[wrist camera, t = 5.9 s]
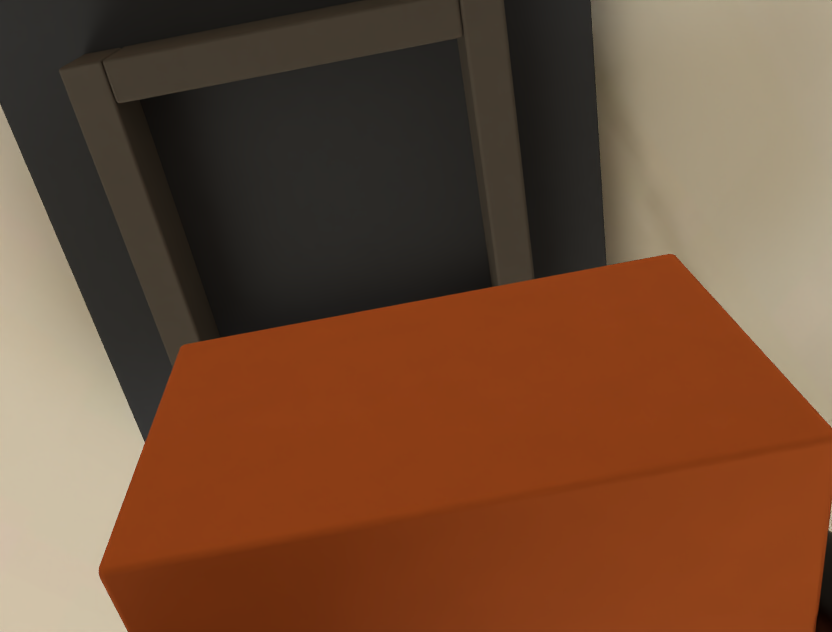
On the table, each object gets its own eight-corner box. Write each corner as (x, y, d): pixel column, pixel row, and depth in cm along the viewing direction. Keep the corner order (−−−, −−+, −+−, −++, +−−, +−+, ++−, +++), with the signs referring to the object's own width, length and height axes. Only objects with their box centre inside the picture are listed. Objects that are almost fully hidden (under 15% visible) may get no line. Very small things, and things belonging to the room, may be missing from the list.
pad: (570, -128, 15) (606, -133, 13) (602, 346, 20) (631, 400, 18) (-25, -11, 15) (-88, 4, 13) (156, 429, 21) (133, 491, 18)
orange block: (673, 250, 8) (844, 435, 5) (676, 597, 10) (793, 845, 7) (179, 343, 8) (92, 572, 5) (298, 665, 10) (281, 935, 8)
